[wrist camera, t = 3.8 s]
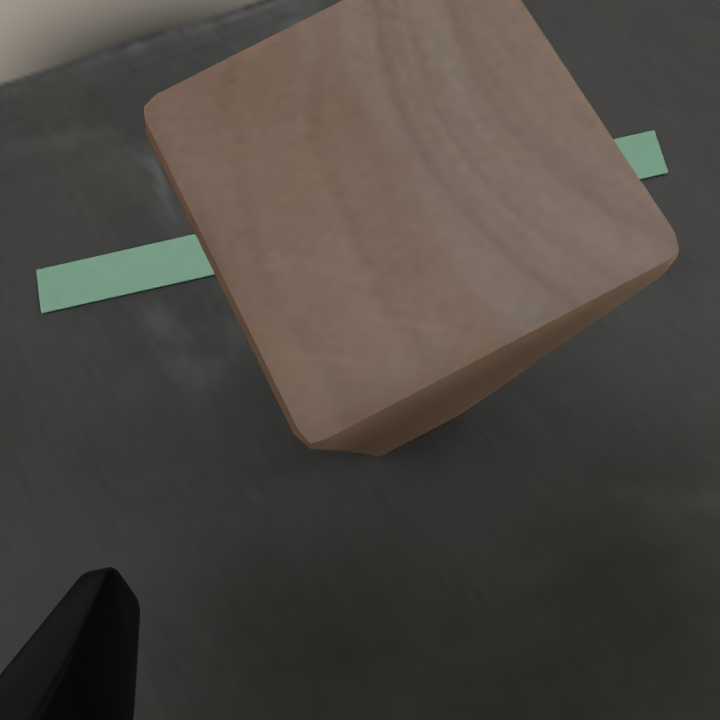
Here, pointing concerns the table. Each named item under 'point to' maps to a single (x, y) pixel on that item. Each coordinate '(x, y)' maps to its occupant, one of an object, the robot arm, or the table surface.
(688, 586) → the table surface
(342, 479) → the table surface
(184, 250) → the tape strip
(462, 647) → the table surface
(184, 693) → the table surface
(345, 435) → the wooden block
